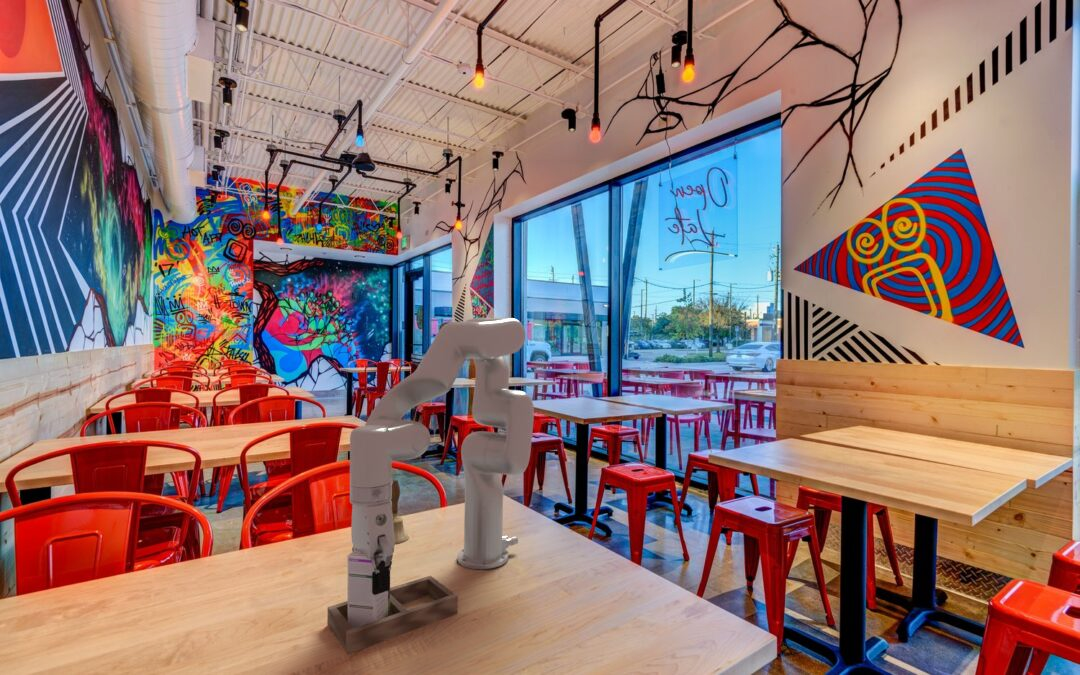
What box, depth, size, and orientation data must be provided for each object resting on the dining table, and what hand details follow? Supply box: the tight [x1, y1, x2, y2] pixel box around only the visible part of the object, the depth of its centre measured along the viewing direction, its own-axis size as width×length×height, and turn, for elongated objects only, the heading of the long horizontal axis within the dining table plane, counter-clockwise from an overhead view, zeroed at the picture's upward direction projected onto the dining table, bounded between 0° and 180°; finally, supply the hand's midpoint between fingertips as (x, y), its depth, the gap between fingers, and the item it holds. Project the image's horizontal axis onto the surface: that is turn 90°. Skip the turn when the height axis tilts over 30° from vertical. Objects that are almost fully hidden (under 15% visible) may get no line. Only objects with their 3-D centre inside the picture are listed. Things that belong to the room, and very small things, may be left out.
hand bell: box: [390, 479, 410, 545], centre depth 142 cm, size 8×8×16 cm
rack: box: [326, 575, 459, 655], centre depth 101 cm, size 22×11×4 cm, turn 130°
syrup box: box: [347, 550, 390, 628], centre depth 98 cm, size 6×6×14 cm
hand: (370, 582), depth 98 cm, fingers open, 9 cm apart
